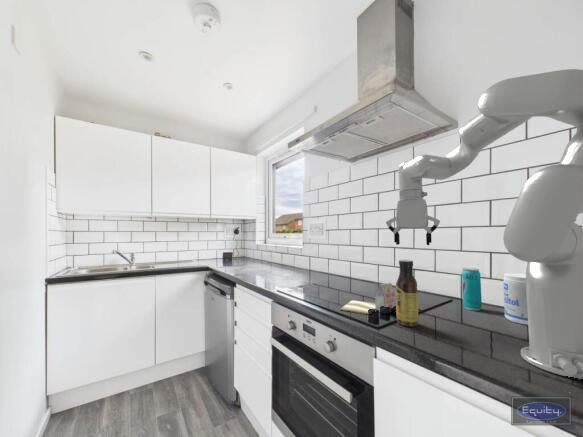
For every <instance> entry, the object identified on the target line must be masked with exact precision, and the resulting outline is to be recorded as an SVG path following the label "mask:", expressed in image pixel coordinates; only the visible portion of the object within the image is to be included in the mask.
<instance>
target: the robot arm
mask: <svg viewBox="0 0 583 437" xmlns="http://www.w3.org/2000/svg"><path fill="white" fill-rule="evenodd" d="M477 109H478V111H479V113H478V114H477V115H475V116H474V117H472V118H471V119H469V121H468V122H466V123H464V124H463V125H462V126H461V127H460V128H459V131H458V135H459V138H460V141H461V142H460V144H459V145H458V147H456V148H455V149H454V150H453V151H451V152H449V153H448V154H447V155H445V156H443V157H442V156H438V155H432V154H421V155H418V156H417V157H414V158H413V159H412V160H411V159H410V160H407V161H404V162H402V163H400V164H399V166H398V185H399V186H398V187H399V190H398V191H399V200H398V201H397V204H396V213H395V217H392V218H391V219H389V220H387V221H386V222H385V224H386V226H387V227H388V229H389V230H390V231H391V232H392V233H393V234H394V235H393V236H394V240H393V241H394V242H393V243H395V245H398V246H399V245H400V239H401V237H400V233H399V232H400V231H401V230H402V229H424V230H425V232H426V233H425V238H426V239H425V241H426V245H427V246H430V244H431V243H432V233H433V232H435V230H436V229H438V227H439V225H440V223H441V220H440V219H438V218H435V217H433V216H431V215H429V213H428V205H427V201H426V199H424V197H427V196H428V191H423V179H430V180H437V181H439V180H440V181H443V180H447V179H449V178H451V177H453V176H455V175H457V174H459V173H460V172H461V171H463V170H465V169H466V168H467V167H469V166H470V165H471V164H472V163H473V162H474V161H475V159H476V158H477V157H478V156H479V154H480V152H481V150H483V149H485V148H486V147H488V146H490V145H491V144H492V143H495V142H496V141H497V140H499V139H500V138H502V137H503V136H505V135H507V134H509V133H510V132H511V131H513V130H515V129H516V128H519V127H520V126H521V125H523V124H524V123H525V122H528V121H529V120H531V119H532V118H534V117H546V118H550V119H552V120H555V121H558V122H562V123H564V124H566V125H571V126H573V127H575V128H576V132H575V134H574V135H573V136H572V137H571V139H570V140H569V142H568V143H567V145H566V146H565V149H564V151H563V154H562V155H561V158H560V160H559V162H558V163H556V164H551V165H548V166H545V167H543V168H540V169H538V170H537V171H536V172H534V173H533V174H532V175H530V177H529V178H528V179H527V180H526V181H525V183H524V184H523V186H522V188H521V190H520V192H519V194H518V197H517V199H516V201H515V203H514V206H513V207H512V208H513V209H512V210H511V213H510V216H509V217H508V220H507V223H506V225H505V229H504V231H503V235H502V236H503V238H502V240H503V245H504V247H505V249H506V251H507V252H508V253H509V254H510V255H511V256H513V257H514V258H516V259H517V260H520V261H523V262H524V263H525V262H526V269H525V274H526V296H527V313H528V325H527V326H528V342H529V343H528V344H529V345H528V346H524V347H522V348H521V349H520V356H521V357H522V359H523V360H525V361H526V362H527V363H529V364H530V365H532V366H535V367H536V368H539V369H541V370H544V371H546V372H550V373H552V374H555V375H559V376H563V377H566V376H568V377H567V378H570V377H574V378H573V379H575V378H578V379H577V380H581V379H583V228H582V227H581V226H580V225H579V224H578V223H575V221H576V219H577V217H578V216H579V214H583V69H576V68H570V69H569V68H568V69H561V70H560V69H558V70H554V71H547V72H541V73H536V74H535V73H533V74H526V75H523V76H516V77H511V78H510V77H509V78H506V79H503V80H499V81H498V82H496V83H494V84H492V85H491V86H488V88H487V89H486V90H485V91H484V92H483V93H482V94H481V96H480V98H479V100H478V104H477ZM429 221H430V222H432V223H433V225H432V226H431V227H429ZM394 222H395V225H396V227H393V225H392V224H393V223H394Z"/></svg>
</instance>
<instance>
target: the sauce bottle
mask: <svg viewBox="0 0 583 437" xmlns="http://www.w3.org/2000/svg"><path fill="white" fill-rule="evenodd" d="M398 264H399V273H398V274H399V275H398V277H397V280H396V283H395V295H396V311H395V312H396V322H397V323H398V324H399V325H400V326H404V327H410V328H411V327H412V328H415V327H417V326H418V324H419V294H418V293H419V292H418V282H417V279H416V278H415V277H414V272H413V269H414V268H413V267H414V261H413V260H412V259H398Z"/></svg>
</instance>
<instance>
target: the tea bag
mask: <svg viewBox="0 0 583 437" xmlns="http://www.w3.org/2000/svg"><path fill="white" fill-rule="evenodd" d="M374 298H375V299H374V300H375V301H374V303H375V307H376V309H377V310H380V307H381V306H384V307H390V308H393V307H394V306H396V291H395V290H394V287H393V285H392V283H391V282H387V283H382V284H379V285H378V288H377V291H376V293H375V296H374Z"/></svg>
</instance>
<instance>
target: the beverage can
mask: <svg viewBox="0 0 583 437" xmlns="http://www.w3.org/2000/svg"><path fill="white" fill-rule="evenodd" d="M481 283H482V280H481V272H480V268H475V267H462V270H461V289H462V305H463V307H464V309H466V310H469V311H472V312H473V311H475V312H477V311H481V308H482V306H483V304H482V301H483V300H482V288H481V287H482V284H481Z"/></svg>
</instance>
